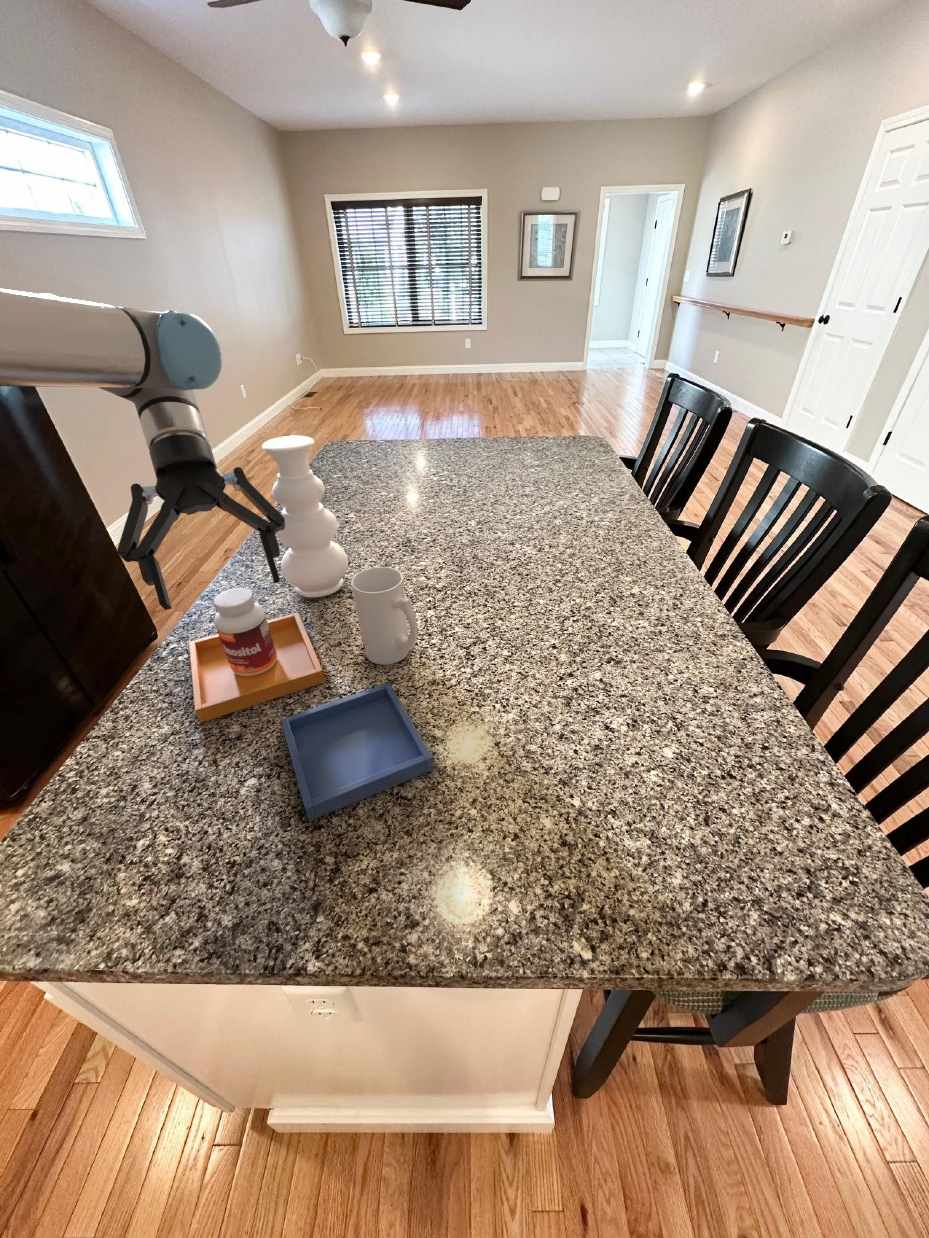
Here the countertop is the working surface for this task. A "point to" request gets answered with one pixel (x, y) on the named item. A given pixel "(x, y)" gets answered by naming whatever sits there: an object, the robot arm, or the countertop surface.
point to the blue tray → (353, 749)
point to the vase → (305, 521)
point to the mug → (384, 614)
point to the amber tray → (232, 692)
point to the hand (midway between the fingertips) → (223, 593)
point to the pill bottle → (244, 632)
